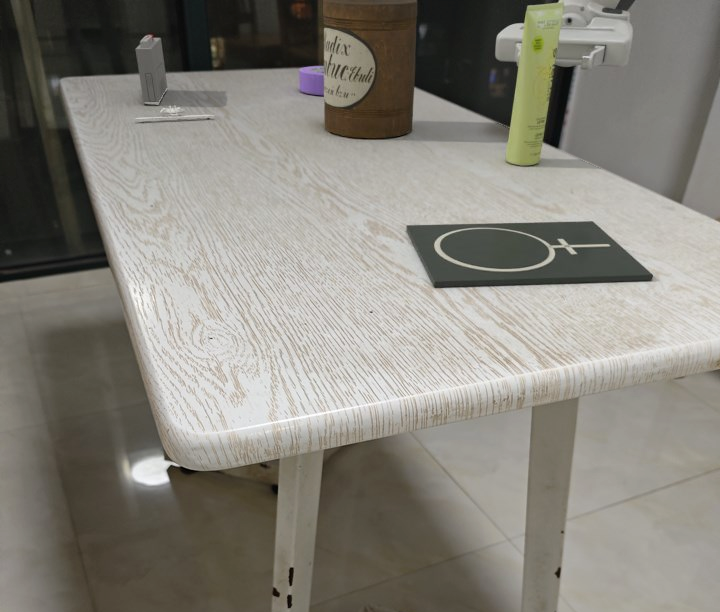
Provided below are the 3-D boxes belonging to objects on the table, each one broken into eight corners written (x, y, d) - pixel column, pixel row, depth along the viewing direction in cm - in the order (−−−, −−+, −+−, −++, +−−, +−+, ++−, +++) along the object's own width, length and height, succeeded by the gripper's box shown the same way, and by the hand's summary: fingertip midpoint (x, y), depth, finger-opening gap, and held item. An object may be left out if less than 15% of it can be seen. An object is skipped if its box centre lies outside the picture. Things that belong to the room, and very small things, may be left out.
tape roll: (326, 83, 151) (326, 63, 149) (368, 91, 146) (368, 70, 143) (287, 90, 144) (287, 69, 142) (329, 99, 139) (329, 76, 136)
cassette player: (154, 89, 143) (145, 31, 137) (167, 89, 143) (159, 31, 137) (144, 105, 131) (134, 42, 124) (158, 105, 131) (150, 42, 125)
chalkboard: (591, 226, 82) (593, 219, 82) (651, 280, 70) (654, 272, 69) (406, 230, 80) (406, 223, 79) (434, 287, 67) (434, 279, 67)
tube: (540, 168, 101) (567, 5, 89) (504, 166, 102) (527, 4, 90) (538, 158, 106) (564, 1, 94) (504, 156, 106) (525, 0, 94)
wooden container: (308, 124, 120) (304, -35, 107) (379, 116, 127) (384, -35, 113) (355, 143, 111) (357, -29, 97) (429, 133, 117) (441, -30, 104)
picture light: (133, 123, 119) (131, 109, 118) (131, 117, 122) (129, 104, 121) (216, 119, 123) (214, 105, 121) (212, 113, 126) (211, 100, 125)
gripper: (507, 8, 113) (485, 35, 104) (641, 11, 107) (629, 40, 98) (504, 52, 118) (483, 81, 109) (632, 58, 111) (620, 89, 103)
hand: (553, 62), depth 104 cm, fingers open, 8 cm apart
